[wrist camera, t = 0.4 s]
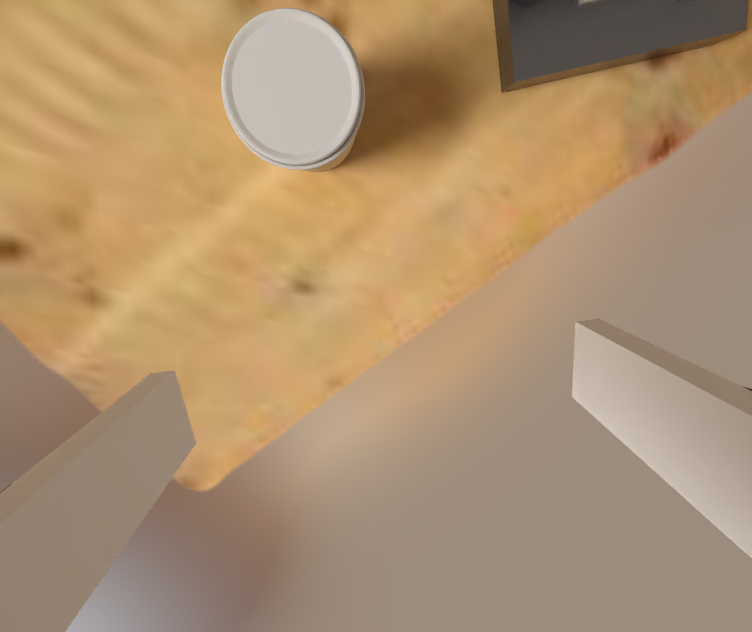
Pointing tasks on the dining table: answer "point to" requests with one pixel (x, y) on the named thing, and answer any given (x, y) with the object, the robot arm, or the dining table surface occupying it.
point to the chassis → (603, 34)
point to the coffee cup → (294, 90)
